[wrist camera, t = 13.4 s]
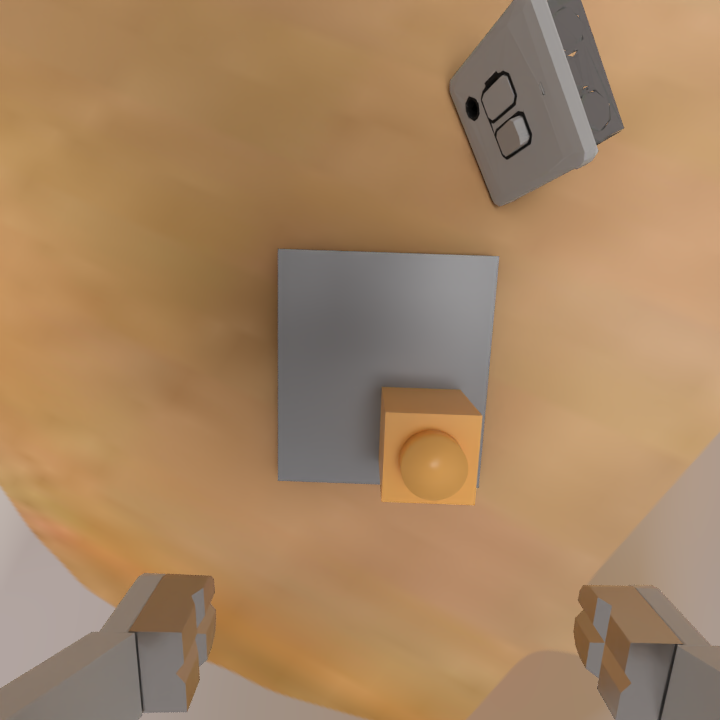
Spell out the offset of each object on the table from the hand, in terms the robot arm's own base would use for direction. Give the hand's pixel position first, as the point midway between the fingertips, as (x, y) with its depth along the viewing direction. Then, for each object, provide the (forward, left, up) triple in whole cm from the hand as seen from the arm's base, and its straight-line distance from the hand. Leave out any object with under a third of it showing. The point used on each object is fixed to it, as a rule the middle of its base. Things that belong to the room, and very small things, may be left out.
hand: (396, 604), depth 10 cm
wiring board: (0, +1, -26) cm, 26 cm away
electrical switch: (-18, +9, -26) cm, 33 cm away
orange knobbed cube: (+4, +4, -24) cm, 25 cm away
